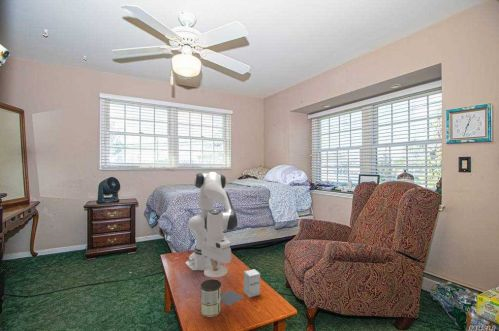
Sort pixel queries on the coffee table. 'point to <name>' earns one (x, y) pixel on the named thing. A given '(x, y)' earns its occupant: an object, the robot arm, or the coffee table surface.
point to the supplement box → (251, 283)
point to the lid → (215, 270)
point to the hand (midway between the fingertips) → (215, 267)
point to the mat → (230, 297)
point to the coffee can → (210, 298)
